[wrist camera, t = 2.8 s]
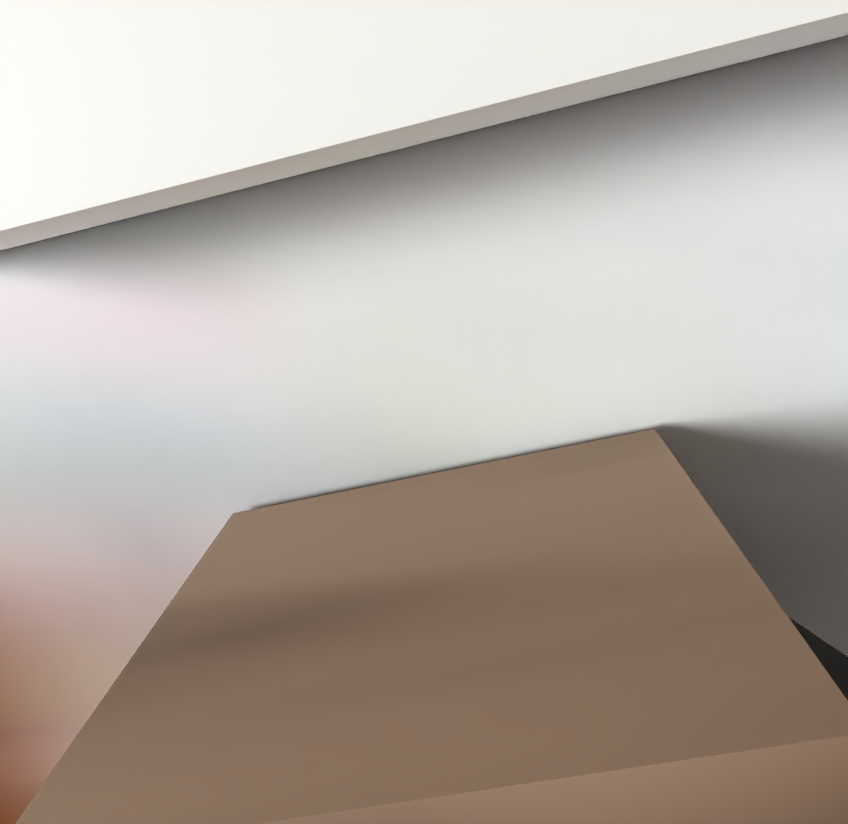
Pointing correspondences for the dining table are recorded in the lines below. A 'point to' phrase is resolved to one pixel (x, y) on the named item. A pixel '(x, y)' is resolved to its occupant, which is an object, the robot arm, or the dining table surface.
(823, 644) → the robot arm
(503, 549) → the walnut cube
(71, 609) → the dining table surface
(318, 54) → the base block
